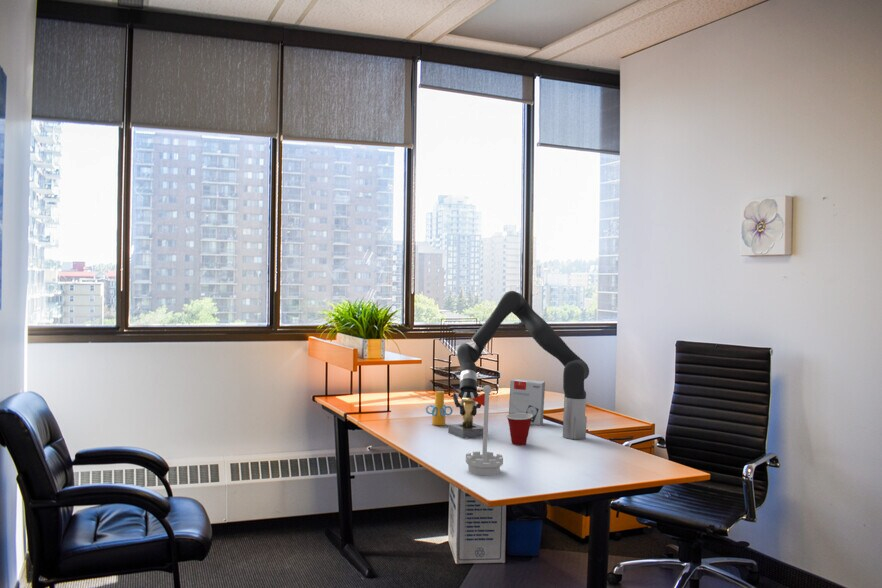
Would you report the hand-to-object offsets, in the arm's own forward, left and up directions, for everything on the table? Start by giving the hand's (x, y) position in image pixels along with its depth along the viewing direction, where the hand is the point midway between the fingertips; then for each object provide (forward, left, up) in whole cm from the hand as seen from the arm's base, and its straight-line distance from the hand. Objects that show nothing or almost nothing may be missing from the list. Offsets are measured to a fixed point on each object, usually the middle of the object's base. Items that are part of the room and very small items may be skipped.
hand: (468, 414), depth 314 cm
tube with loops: (+25, 0, -9) cm, 26 cm away
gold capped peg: (+2, -1, -5) cm, 6 cm away
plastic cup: (-21, -11, -9) cm, 26 cm away
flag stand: (-51, +26, -9) cm, 58 cm away
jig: (+2, -1, -9) cm, 9 cm away
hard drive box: (+15, -42, -9) cm, 45 cm away
